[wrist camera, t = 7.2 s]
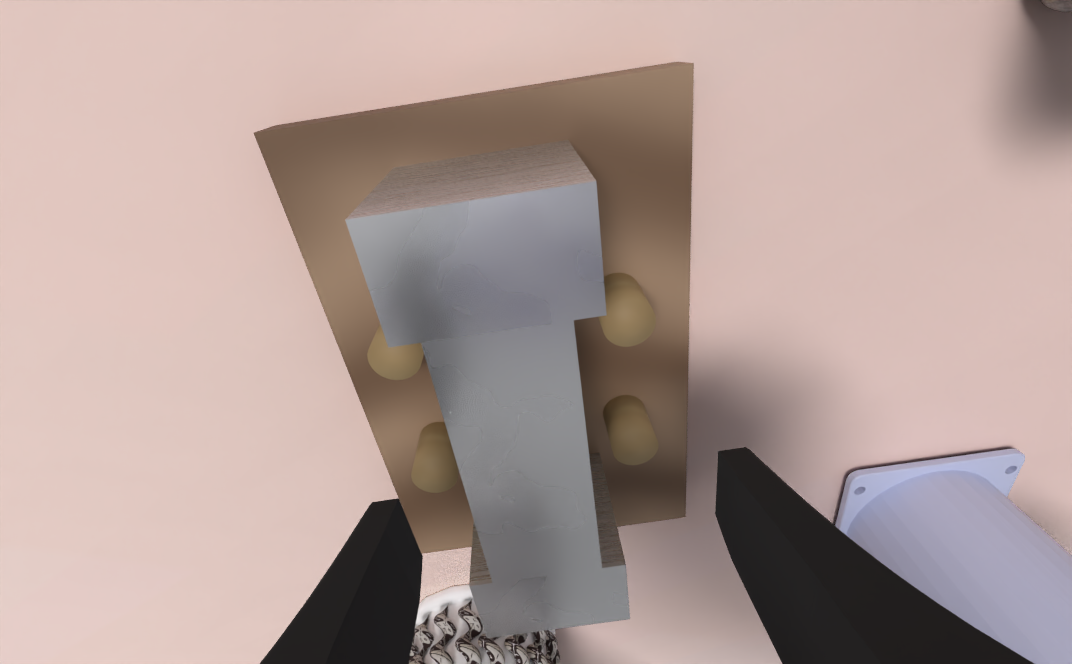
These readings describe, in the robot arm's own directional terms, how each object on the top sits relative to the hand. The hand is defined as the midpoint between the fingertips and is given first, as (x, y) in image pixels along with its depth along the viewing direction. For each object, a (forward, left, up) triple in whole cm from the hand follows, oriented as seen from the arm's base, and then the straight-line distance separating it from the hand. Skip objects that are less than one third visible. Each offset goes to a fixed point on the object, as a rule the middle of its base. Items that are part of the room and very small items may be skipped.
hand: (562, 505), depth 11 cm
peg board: (-1, +1, -8) cm, 9 cm away
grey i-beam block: (-1, +1, -7) cm, 7 cm away
